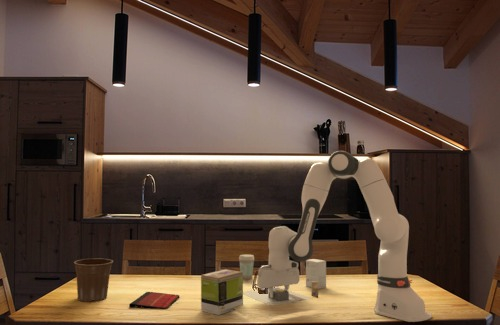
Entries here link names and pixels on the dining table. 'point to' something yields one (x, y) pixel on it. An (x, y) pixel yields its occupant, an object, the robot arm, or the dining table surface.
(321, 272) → the small box
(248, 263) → the coffee cup
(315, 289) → the peg
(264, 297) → the floor panel
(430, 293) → the dining table surface
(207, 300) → the tea box
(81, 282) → the plant pot
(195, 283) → the dining table surface
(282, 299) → the grey rectangular block
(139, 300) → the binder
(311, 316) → the dining table surface
